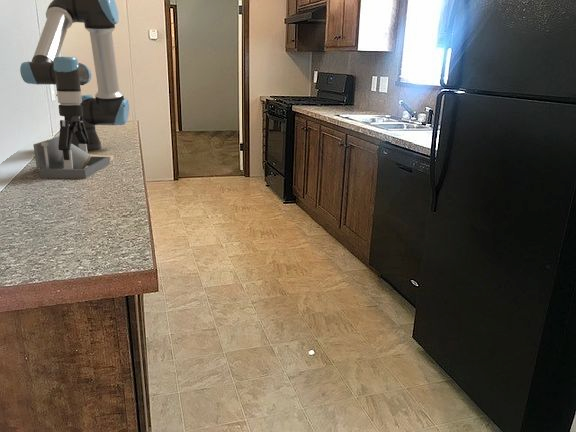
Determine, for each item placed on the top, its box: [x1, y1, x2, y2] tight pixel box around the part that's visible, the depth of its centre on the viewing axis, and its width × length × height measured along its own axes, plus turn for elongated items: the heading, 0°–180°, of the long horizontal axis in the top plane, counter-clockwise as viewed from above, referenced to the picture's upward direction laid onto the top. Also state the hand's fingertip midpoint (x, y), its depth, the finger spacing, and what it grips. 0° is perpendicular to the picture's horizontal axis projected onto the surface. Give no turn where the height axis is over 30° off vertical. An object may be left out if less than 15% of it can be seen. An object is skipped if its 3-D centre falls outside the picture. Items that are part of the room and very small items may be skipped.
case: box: [32, 135, 111, 180], centre depth 166 cm, size 24×16×11 cm, turn 1°
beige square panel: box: [88, 153, 117, 161], centre depth 187 cm, size 14×14×1 cm
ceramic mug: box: [59, 144, 91, 169], centre depth 166 cm, size 11×8×8 cm
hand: (76, 165), depth 167 cm, fingers open, 13 cm apart
